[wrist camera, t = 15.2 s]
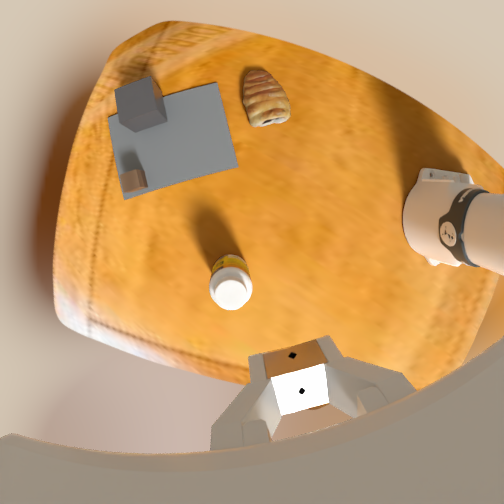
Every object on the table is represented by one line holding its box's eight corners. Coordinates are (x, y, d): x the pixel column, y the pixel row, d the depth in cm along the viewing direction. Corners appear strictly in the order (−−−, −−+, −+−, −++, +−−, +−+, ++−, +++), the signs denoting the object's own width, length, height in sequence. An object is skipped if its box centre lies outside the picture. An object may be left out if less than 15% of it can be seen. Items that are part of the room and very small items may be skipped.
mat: (217, 83, 36) (217, 82, 36) (238, 166, 39) (238, 166, 39) (108, 118, 36) (107, 117, 35) (125, 199, 39) (124, 200, 39)
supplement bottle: (221, 247, 42) (219, 265, 32) (254, 263, 43) (262, 284, 33) (206, 279, 43) (200, 305, 33) (238, 293, 44) (241, 323, 34)
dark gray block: (161, 91, 35) (150, 75, 28) (167, 121, 36) (157, 109, 29) (129, 103, 34) (114, 89, 28) (135, 132, 36) (119, 123, 29)
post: (144, 170, 38) (136, 169, 34) (148, 187, 39) (140, 186, 35) (129, 176, 38) (119, 175, 34) (132, 192, 38) (123, 192, 35)
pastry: (233, 79, 37) (233, 69, 33) (274, 70, 37) (278, 60, 33) (251, 131, 39) (253, 125, 35) (293, 121, 39) (299, 114, 35)
